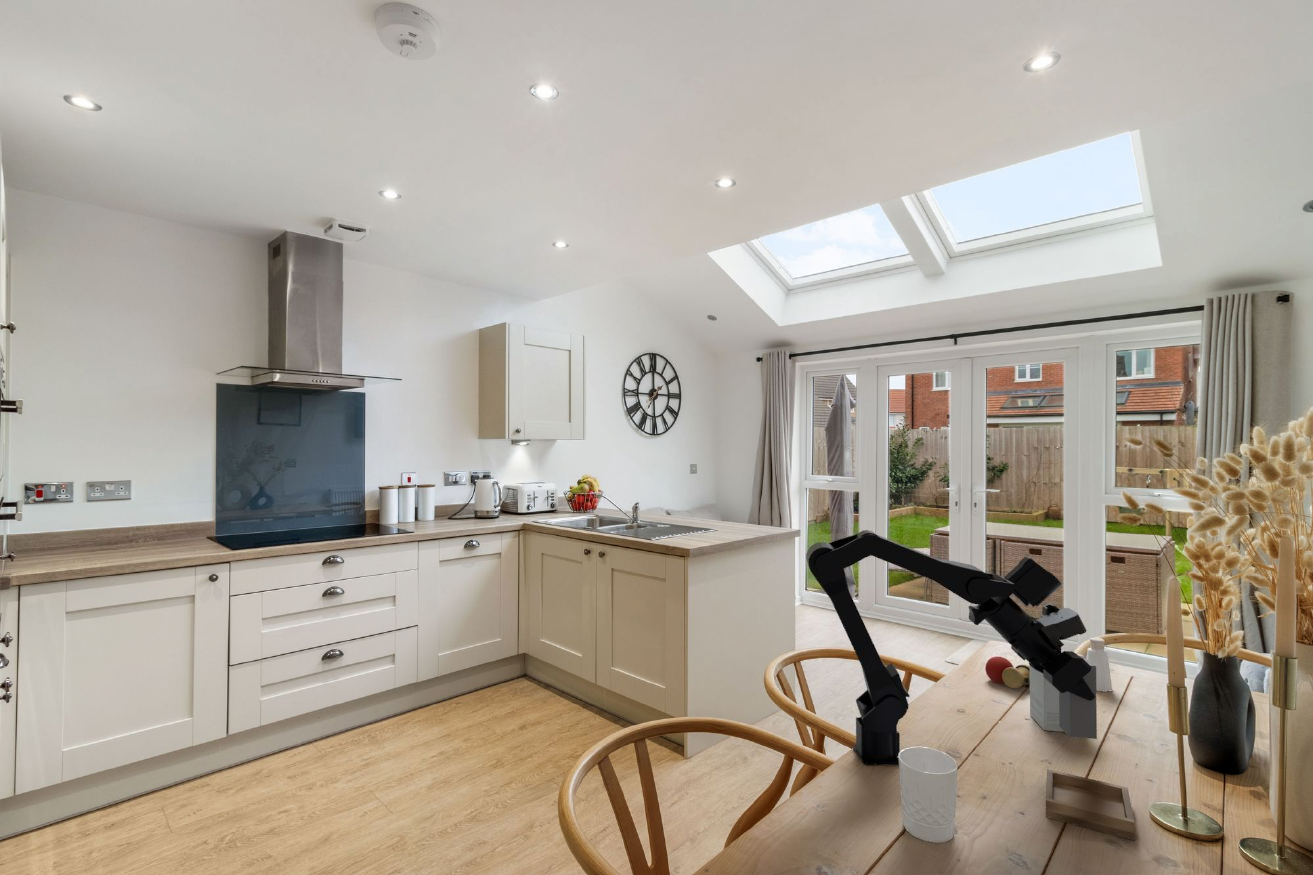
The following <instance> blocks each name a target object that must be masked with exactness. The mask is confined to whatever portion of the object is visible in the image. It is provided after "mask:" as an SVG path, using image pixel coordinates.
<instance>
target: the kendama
mask: <svg viewBox="0 0 1313 875" xmlns="http://www.w3.org/2000/svg"><path fill="white" fill-rule="evenodd" d="M985 674H986V676H987V677H988V679H989V680H991V681H992V682H994V683H995V684H998V683H999V684H998V685H1006V686H1007V687H1009V688H1011V689H1019V688H1021V687H1024V686H1025V688H1030V666H1029V664H1028V665H1027V664H1019V665H1016V666H1015V667H1014V665H1013V663H1011V661H1010V660H1008V659H1007V658H1005V657H1003V656H994V657H993V656H992V657H991V658H989V659H988V660H987V662H986V663H985Z"/></svg>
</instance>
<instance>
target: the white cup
mask: <svg viewBox="0 0 1313 875" xmlns="http://www.w3.org/2000/svg"><path fill="white" fill-rule="evenodd" d="M897 757H898V759H899V765H898V772H899V775H898V776H899V790H900V801H901V802H900V803H901V809H902V824H903V827H904V828H905V830H906V831H907V833H909V834H910V835H911V836H913V837H914V838H917V839H920V840H921V841H924V842H928V841H929V843H933V844H934V843H935V844H939V843H940V844H941V843H946V842H948V841H950V840H952V839H953V837H954V834H955V818H956V810H957V809H956V807H957V797H958V796H957V795H958V794H957V793H958V792H957V791H958V788H957V787H958V767H959V766H958V763H957V761H956V760H955V759H954V758H953V757H952V756H950V755H949V754H948V753H946V752H944V751H941V750H938V749H935V748H932V747H925V746H910V747H909V746H908V747H905V748H903V749H901V750H900V752H899V754H898V756H897Z"/></svg>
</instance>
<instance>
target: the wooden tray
mask: <svg viewBox="0 0 1313 875" xmlns="http://www.w3.org/2000/svg"><path fill="white" fill-rule="evenodd" d="M1045 779H1046V782H1045V818H1049V819H1052V820H1056V821H1060V822H1062V823H1067V824H1071V825H1074V826H1079V827H1082V828H1085V829H1090V830H1093V831H1097V832H1101V833H1105V834H1108V835H1112V836H1115V837H1118V838H1119V837H1120V838H1123V839H1127V840H1130V841H1136V829H1135V828H1136V822H1135V818H1134V813H1133V807H1132V803H1131V797H1130V793H1129V787H1127V786H1122V785H1119V784H1114V783H1111V782H1110V783H1109V782H1106V781H1105V782H1104V781H1101V780H1096V779H1092V778H1087V777H1083V776H1079V775H1075V774H1070V773H1067V772H1066V773H1065V772H1061V771H1057V770H1055V769H1054V770H1053V769H1049V768H1046V778H1045Z"/></svg>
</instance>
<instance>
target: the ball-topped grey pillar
mask: <svg viewBox="0 0 1313 875" xmlns="http://www.w3.org/2000/svg"><path fill="white" fill-rule="evenodd" d="M1076 654H1077V655H1079V656H1080V657H1081V658H1083V659H1084V660H1085V661H1086V662H1087V663H1088V664H1089V665H1090V666H1091V667H1092V668H1091V671H1090V672H1089V673H1088V674H1086V675H1085V676H1084V677H1083V679H1084V680H1085V682H1086V683H1087V685H1088V686H1089V688H1090V689H1091V691H1092V692H1093V694H1094V695H1095V698H1094V699H1093V700H1092V701H1089V700H1086V699H1084V698H1082V697H1079V696H1077V695H1075V694H1072V693H1070V692H1068V691H1067V692H1065V693H1060V692H1059V726H1060V727H1061V728H1062V729H1063V730H1064V731H1065V732H1064V733H1065V734H1066V735H1067V736H1069V737H1070V738H1080V739H1081V738H1083V739H1093V740H1094V739H1095V740H1098V739H1097V738H1098V730H1097V727H1098V726H1097V724H1098V723H1097V721H1098V719H1097V718H1098V717H1097V715H1098V714H1097V708H1098V707H1097V706H1098V705H1097V691H1096V666H1095V665H1094V664H1092V663H1091V662H1090V661H1088V660H1087V659H1086V658H1085V656H1084V655H1083V654H1081V653H1076Z"/></svg>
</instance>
